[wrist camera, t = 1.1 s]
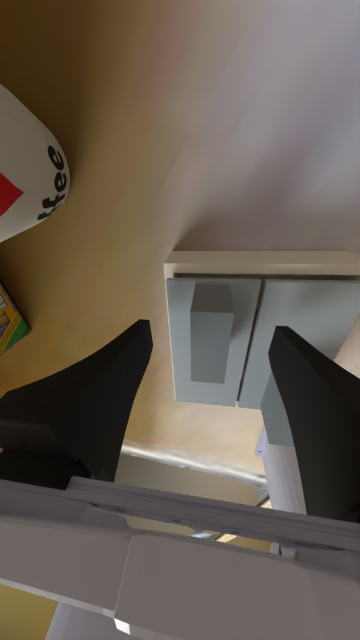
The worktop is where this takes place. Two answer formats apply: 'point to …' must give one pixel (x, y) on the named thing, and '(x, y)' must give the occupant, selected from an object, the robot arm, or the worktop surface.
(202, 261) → the carton
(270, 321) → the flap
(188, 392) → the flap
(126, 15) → the worktop surface
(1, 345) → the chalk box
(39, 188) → the cup
